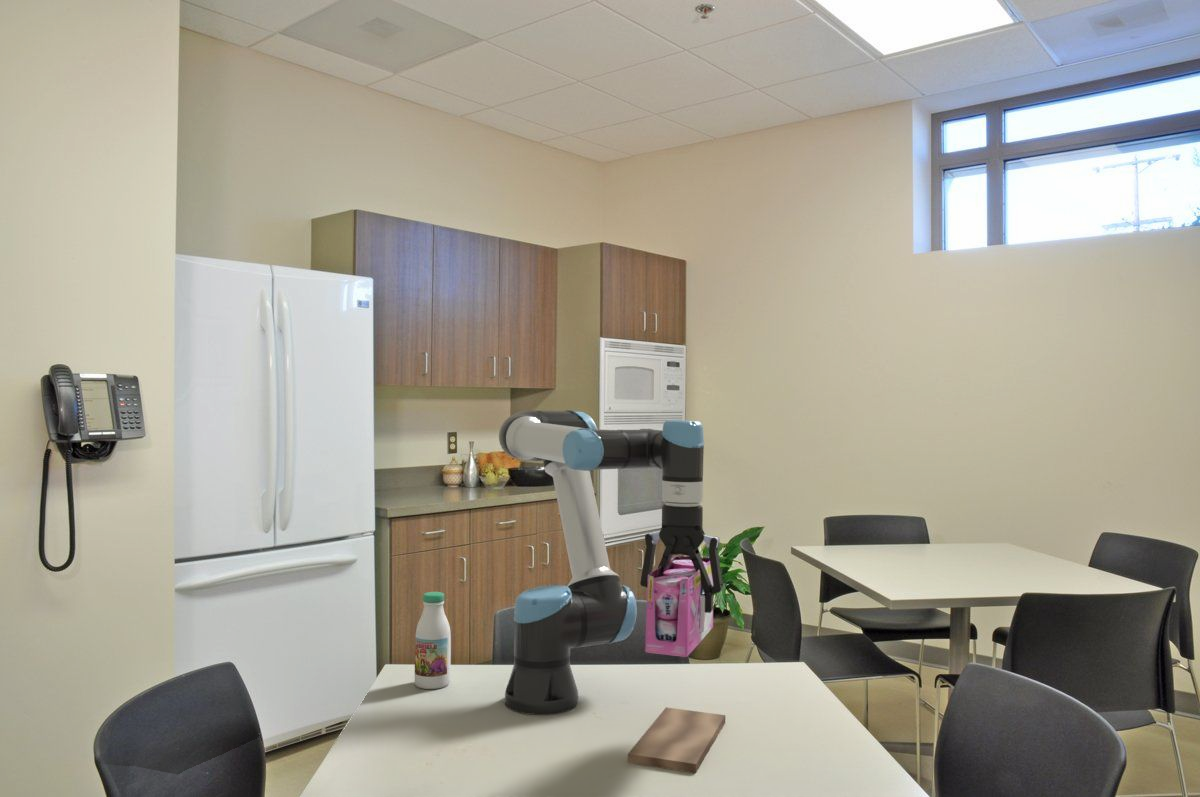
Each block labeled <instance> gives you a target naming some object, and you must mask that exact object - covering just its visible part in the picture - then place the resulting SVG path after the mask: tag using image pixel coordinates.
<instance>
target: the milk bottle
mask: <svg viewBox="0 0 1200 797" xmlns="http://www.w3.org/2000/svg"><path fill="white" fill-rule="evenodd" d="M422 602H423V603H422V604H423V610H422V613H421V615H420V616H421V617H420V618H419V620H418V623H417V626H416V630H415V639H414V640H415V642H414V644H415V646H414V684H415V687H417V688H419V689H423V690H437V689H441V688H442V689H443V688H445V687H448V686H449V685H450V682H451V657H452V656H451V647H452V646H451V644H452V643H451V642H452V641H451V640H452V639H451V636H452V635H451V633H452V632H451V626H450V623H449V620H448V618H447V616H446V613H445V609H444V604H445V593H443V592H441V591H429V592H425V593H423V595H422Z"/></svg>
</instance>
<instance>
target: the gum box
mask: <svg viewBox="0 0 1200 797" xmlns="http://www.w3.org/2000/svg"><path fill="white" fill-rule="evenodd" d="M701 558H702V561H703V564H704V566H705V569H706V571H707V574H708V576H709V579H710V581H711V584H712V586H714V585H713V579H712V572H711V565H710V558H709V557H703V556H701ZM657 568H658V567H657ZM657 568H656V569H655V570H652V572H651V573H650V574H649V575H648V587H646V589H647V592H646V610H645V611H646V614H645V615H646V618H645V641H644V642H645V643H644V644H645V648H644V652H645V653H648V654H656V655H657V654H659V655H666V656H675V657H683V658H688V657H689V655H690V654H691V653H692V652H693V651H694V650H695V649H696V647H697V646H698V645H699V644H700V643H701V642H702V640H704V638H706V636H707V635H708V633H709V632H710V631H711V630H712V629H713V628H714V608H713V609H712V611H711V613H707V629H706V630H705V631H704V632H700V603H701V595H702V594H703V593H704V591H703V588H702V586H701V574H700V569H699V570H698V571H697V572H696V570H695V568H694V565H693V563H692V561H691V559H690V557H689V556H687V555H676V556H675V555H674V556H672V558H671V560H670V562H669V565H668V567H667V569H666V571H665V572H663V573H661V567H659V568H658V569H657Z"/></svg>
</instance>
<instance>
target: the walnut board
mask: <svg viewBox="0 0 1200 797" xmlns="http://www.w3.org/2000/svg"><path fill="white" fill-rule="evenodd" d="M725 724H726V714H719V713H713V712H705V711H703V712H702V711H696V710H688V709H682V708H674V707H666V706H665V708H664V709H663V710H662V711H661V713H660V714H659V715H658V717H657V718H656V719H655V720H654V721H653V723H652V724H651V725H650V726H649V728H647V730H646V731H645V732H644V733H643V735H642V736H641V737H640V738H639V739H638V741H636V743H635V744H634V746H632V748H631V749H630V751H628V753H627V763H629V764H634V765H635V764H636V765H641V766H649V767H655V768H661V769H668V770H674V771H680V772H687V773H694V774H697V772H698V770H699V769H700V767H701V766H702V764H703V762H704V760H705V758H706V757H707V755H708V753H709V752H710V750H711V747H713V745H714V743H715V741H716V740H717V738H718V736H719V735H720V733H721V731H722V729H723V728H724V726H725ZM718 734H719V735H718Z"/></svg>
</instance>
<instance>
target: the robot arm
mask: <svg viewBox="0 0 1200 797" xmlns="http://www.w3.org/2000/svg"><path fill="white" fill-rule="evenodd" d="M662 424H663V425H662V430H660V429H652V428H640V429H598V427H597V425H596V423H595V421H594V419H593V418H592V417H591V416H590V415H589V414H588V413H586V412H583V411H574V410H570V409H566V410H522V411H518V412H516V413H513V414H512V415H510V416H509V417H507V418H506V419H505V420H504V422H502V425H501V426H500V428H499V432H498V442H499V445H500V447H501V449H502V451H503V452H504V453H505V454H506V455H508V456H509V457H511V458H513V459H514V460H515V459H516V460H519V461H526V462H527V461H529V462H531V461H532V462H543V466H544V467H543V468H544V472H545V473H546V474H547V475H549V476H550V477H552V480H553V485H554V490H555V495H556V499H557V505H558V510H559V516H560V520H561V526H562V530H563V535H564V542H565V547H566V551H567V558H568V562H569V567H570V571H571V572H570V573H571V579H570V581H569V583H568V584H567V585H562V584H551V585H549V584H546V585H540V586H539V585H538V586H535V587H532V588H527V589H526V590H524V591H522V592H521V593H520V594H518V596H517V597H516V599H515V602H514V603H515V604H514V613H513V623H514V624H513V633H514V634H513V667H512V670H511V673H510V676H509V679H508V681H507V682H508V683H507V684H506V688H505V691H504V705H505V706H506V707H507V708H508V709H510V710H512V711H514V712H518V713H522V714H527V715H553V714H561V713H564V712H567V711H569V710H572V709H573V708H575V707H577V705H578V704H579V690H578V687H577V684H576V680H575V677H574V674H573V672H572V671H573V670H572V668H571V660H570V659H571V649H576V648H578V649H579V648H583V647H591V646H597V645H604V644H605V645H611V644H613V643H617V642H621V641H624V640H625V639H627V638H628V637H629V636H630V635H631V634H632V632H633V631H634V627H635V624H636V620H637V612H638V610H637V600H636V597H635V593H634V592H633V591H632V589H631V588H630V587H628V586H626V585H624V584H621V578H620V575H619V574H618V573H616V572H615V571H613V570H612V569H611V566H610V561H609V555H608V550H607V546H606V542H605V537H604V532H603V529H602V527H603V526H602V524H601V519H600V514H599V509H598V504H597V500H596V495H595V489H594V484H593V481H592V477H591V476H592V475H591V472H590V471H598V470H599V471H600V470H601V471H602V470H614V469H615V470H616V469H617V470H629V469H630V470H633V469H634V470H636V469H638V470H640V469H656V470H657V469H658V470H662V478H661V479H662V480H661V485H662V487H661V488H662V490H661V492H662V493H661V494H662V495H661V498H662V499H661V501H662V502H664V503H665V504H662V506H661V528H660V530H659V532H652V531H651V532H649V533H647V534H645V535H644V540H645V545H646V547H645V552H644V559H643V565H642V571H641V575H640V582H639V583H640V586H641V587H645V588H647V587H648V575H649V574H650V573H651V572H653V566H654V561H655V554H656V548H657V547H656V546H657V544H658V543H659V539H660V540H661V542H662V543H663V545H664V547H665V549H664V550H663V554H662V557H661V559H660V561H659V563H658V567H657V568H656V569H658V568H659V567H661V573H663V572H665V571H666V569H667V567H668V565H669V562H670V560H671V559H672V558H673V557H674V556H675V555H676V556H678V555H681V556H689V557H690V559H691V561H692V563H693V565H694V568H695V570H696V572H697V571H698V570H699V569H700V574H701V586H702V588H703V591H704V593H703V594H702V595H701V603H700V632H704V631H705V630H706V629H707V613H711V611H712V609H713V610H714V594H717V593H721V591H722V590H723V589H724V583H723V576H722V569H721V568H722V567H721V563H720V555H719V544H720V537H719V536H717V535H716V536H711V535H706V533H705V531H704V529H703V526H704V525H703V520H704V518H703V512H704V511H703V510H704V509H703V506H702V505H701V503H702V502H704V482H703V480H704V479H703V478H704V454H705V453H704V451H705V450H704V449H705V439H704V427H703V426H704V425H703V424H702V422H700V421H698V420H671V419H670V420H665V421H664V422H663V423H662ZM703 542H705V547H706V548H707V549H708V556H709V557H708V558H710V565H711V572H712V579H713V586H712V584H711V581H710V579H709V576H708V574H707V571H706V569H705V566H704V564H703V561H702V558H701V557H702V554H701V551H700V550H699V547H700V546H701V545H702V544H703Z"/></svg>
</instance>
